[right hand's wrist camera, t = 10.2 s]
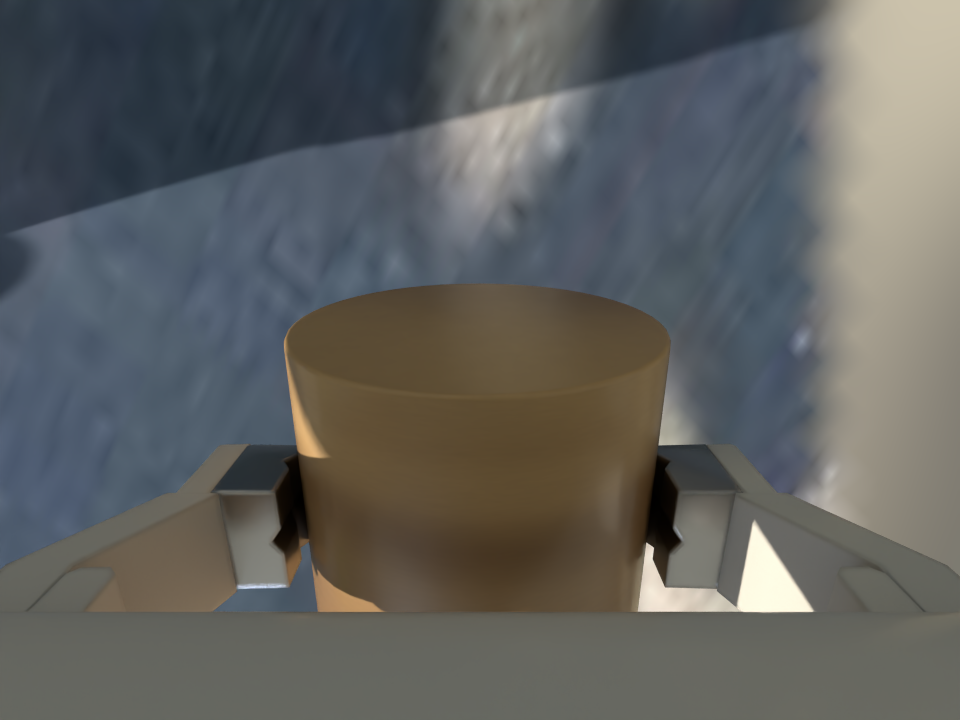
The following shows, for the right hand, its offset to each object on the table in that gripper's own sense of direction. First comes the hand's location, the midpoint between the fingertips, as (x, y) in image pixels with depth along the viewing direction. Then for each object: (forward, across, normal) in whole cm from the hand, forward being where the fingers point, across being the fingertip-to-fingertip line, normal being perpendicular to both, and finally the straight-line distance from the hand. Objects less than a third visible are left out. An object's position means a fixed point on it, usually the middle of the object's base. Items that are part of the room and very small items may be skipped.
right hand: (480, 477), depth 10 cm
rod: (+3, 0, -10) cm, 10 cm away
